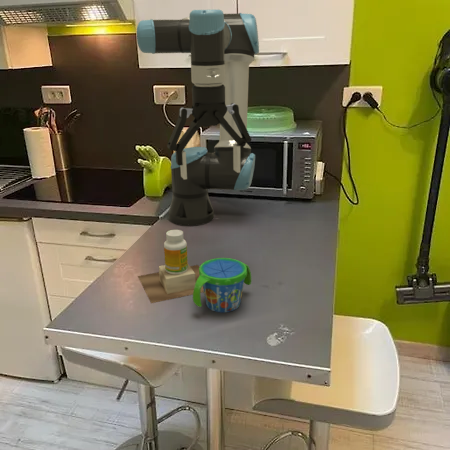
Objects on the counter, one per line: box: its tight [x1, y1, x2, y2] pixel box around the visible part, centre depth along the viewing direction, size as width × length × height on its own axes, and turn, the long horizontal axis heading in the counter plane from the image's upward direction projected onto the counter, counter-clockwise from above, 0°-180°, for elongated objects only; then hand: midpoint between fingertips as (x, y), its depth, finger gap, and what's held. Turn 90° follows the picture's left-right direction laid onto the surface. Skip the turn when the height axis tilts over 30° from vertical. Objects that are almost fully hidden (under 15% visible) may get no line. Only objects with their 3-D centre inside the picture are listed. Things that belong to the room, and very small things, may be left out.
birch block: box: [158, 263, 195, 294], centre depth 117 cm, size 7×7×4 cm
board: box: [137, 264, 204, 304], centre depth 119 cm, size 14×16×1 cm
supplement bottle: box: [163, 229, 189, 274], centre depth 114 cm, size 5×5×10 cm
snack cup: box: [192, 257, 252, 313], centre depth 108 cm, size 16×10×10 cm
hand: (210, 174), depth 118 cm, fingers open, 13 cm apart
